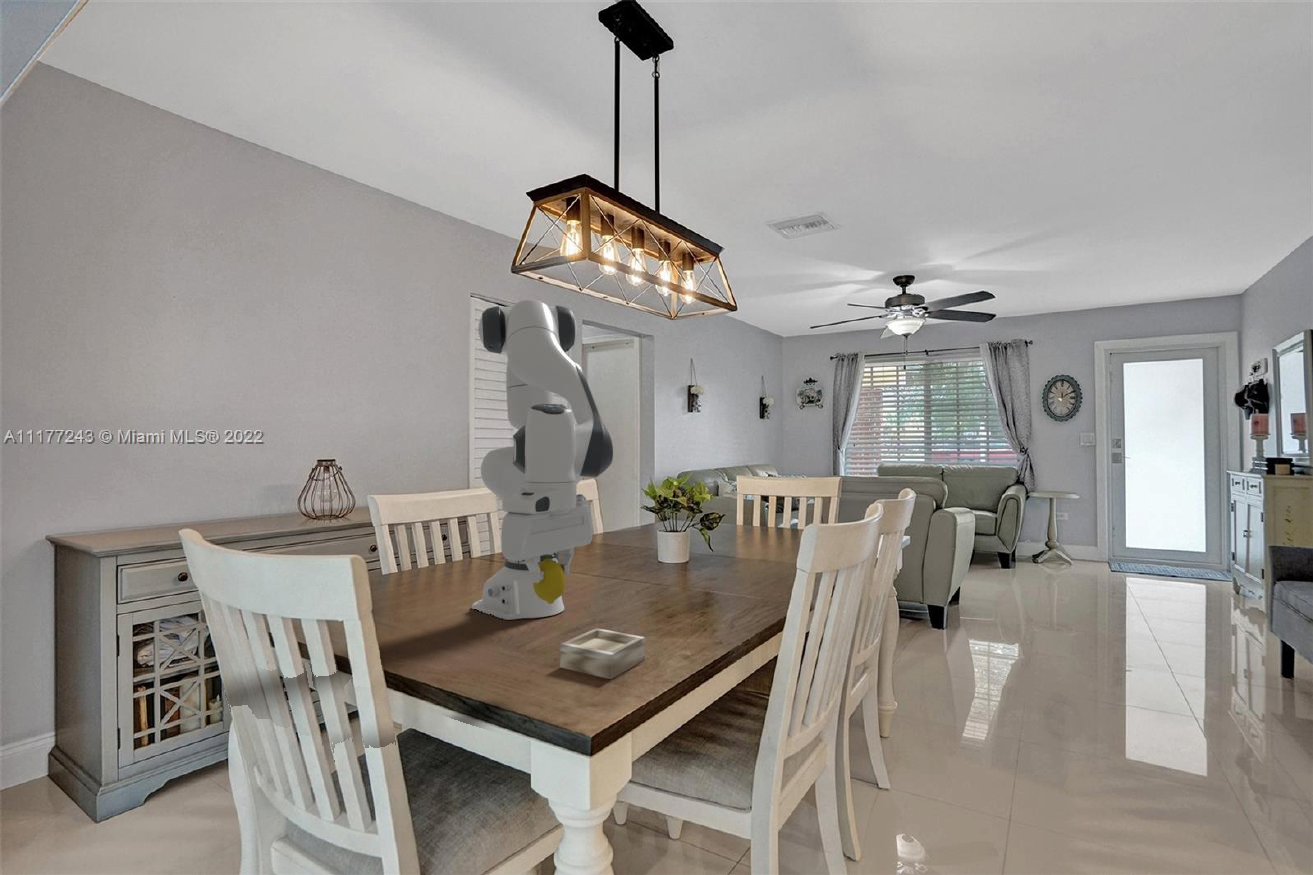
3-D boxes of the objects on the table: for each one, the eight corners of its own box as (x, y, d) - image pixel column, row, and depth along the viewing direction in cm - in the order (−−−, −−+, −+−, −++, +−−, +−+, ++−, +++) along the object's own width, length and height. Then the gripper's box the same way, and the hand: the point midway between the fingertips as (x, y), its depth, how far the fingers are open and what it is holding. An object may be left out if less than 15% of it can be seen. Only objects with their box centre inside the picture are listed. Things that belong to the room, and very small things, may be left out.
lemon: (568, 597, 113) (564, 553, 112) (565, 607, 107) (561, 560, 107) (537, 600, 112) (533, 555, 112) (532, 610, 107) (528, 563, 107)
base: (560, 667, 114) (560, 643, 114) (596, 649, 123) (596, 628, 123) (611, 679, 108) (611, 654, 108) (644, 659, 117) (644, 637, 117)
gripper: (573, 492, 120) (573, 565, 120) (494, 502, 102) (494, 587, 102) (600, 494, 117) (600, 569, 117) (524, 504, 99) (524, 592, 99)
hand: (550, 578), depth 109 cm, fingers closed on lemon, 5 cm apart
